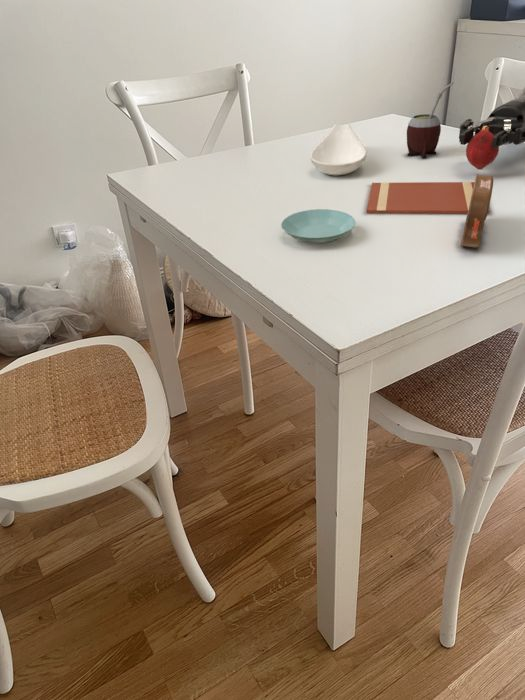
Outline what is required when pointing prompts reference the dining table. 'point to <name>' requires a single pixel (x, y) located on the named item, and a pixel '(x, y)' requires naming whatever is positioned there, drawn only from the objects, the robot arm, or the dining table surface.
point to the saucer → (318, 225)
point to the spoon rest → (339, 152)
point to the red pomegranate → (481, 149)
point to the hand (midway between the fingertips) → (478, 140)
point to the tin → (477, 211)
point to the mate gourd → (424, 132)
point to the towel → (420, 198)
